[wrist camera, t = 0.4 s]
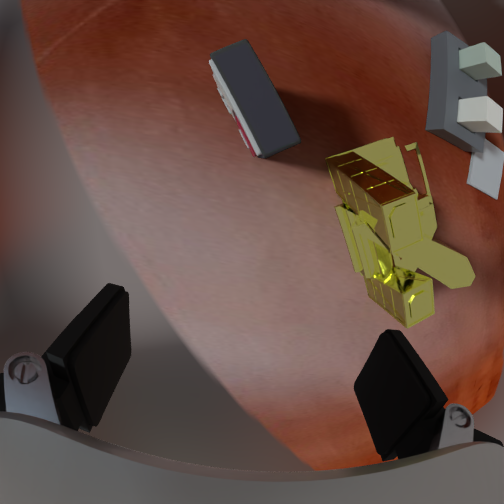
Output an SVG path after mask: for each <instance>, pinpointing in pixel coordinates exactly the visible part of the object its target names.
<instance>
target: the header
mask: <svg viewBox="0 0 504 504" xmlns="http://www.w3.org/2000/svg"><path fill="white" fill-rule="evenodd" d="M468 47H469V46H468V45H467V44H465V43H464V42H463V41H461V40H460V39H458V38H457V37H456V36H454V35H453V34H451V33H450V32H448V31H447V30H446V31H444V32H442V33H440V34H438V35H436V36H434V37H432V38H431V76H430V92H429V104H428V113H427V122H426V129H425V130H426V131H429V132H431V133H433V134H435V135H436V136H438V137H440V138H442V139H444V140H446V141H448V142H450V143H451V144H453V145H455V146H457V147H459V148H460V149H462V150H464V151H469V152H479V153H483V150H484V142H485V132H470V131H468V130H467V129H465V128H464V127H462V126H460V125H459V124H457V113H458V100H460V99H467V98H474V97H482V96H487V78H485V79H479V80H473V79H472V78H471V77H469V76H468V75H466V74H465V73H464V72H462V71H461V70H459V50H462V49H465V48H468Z"/></svg>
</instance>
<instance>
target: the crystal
mask: <svg viewBox="0 0 504 504" xmlns="http://www.w3.org/2000/svg"><path fill="white" fill-rule="evenodd" d="M405 148H406V151H409V150H412V149H415V151H416V154H417V158H418V161H419V165H420V169H421V172H422V176H423V180H424V185H425V189H426V194H423V195H422V194H419V193H418V192H417V190H416V189H415V188H413V187H412V185H411V184H410V183H409V179H408V175H407V172H406V168H405V165H404V161H403V158H402V155H401V152H400V148H399V146H396V143H395V140H394V137H391V138H388V139H387V138H385V139H382V140H379V141H376V142H373V143H370V144H367V145H364V146H361V147H358V148H355V149H353V150H350V151H346V152H343V153H340V154H337V155H334V156H331V157H328V158H325V160H326V163H327V166H328V169H329V172H330V175H331V178H332V181H333V184H334V187H335V190H336V193H337V194H338V195H339V196H340V197H341V199H342V201H343V203H342V204H340V205H337V206H335V207H334V208H335V211H336V214H337V217H338V220H339V223H340V226H341V229H342V232H343V235H344V238H345V241H346V244H347V248H348V251H349V254H350V258H351V261H352V265H353V268H354V271H355V272H360V273H361V276H362V275H363V276H364V279H365V283H366V287H367V292H368V296H369V298H371V299H372V300H373V301H374V302H376V303H377V304H378V305H379V306H380V307H382V308H383V309H384V310H385V311H386V312H388V313H389V314H390V315H391V316H392V317H394V318H395V319H396V320H397V321H398V322H400V323H401V324H402V325H403V326H404V327H405V328H407V329H408V328H410V327H411V326H413V325H415V324H417V323H419V322H421V321H423V320H424V319H426V318H428V317H430V316H431V315H433V314H435V311H434V293H433V281H432V279H431V278H429V277H426V276H424V275H421V274H418V273H416V272H415V271H416V269H417V268H419V269H420V270H422V271H424V272H425V273H427V274H429V275H430V276H432V277H433V278H435V279H437V280H438V281H440V282H441V283H443V284H445V285H446V286H448V287H449V288H451V289H454V288H460V287H466V286H471V284H472V282H473V280H474V278H475V274H474V272H473V269H472V267H471V265H470V263H469V260H468V258H467V257H466V256H464V255H462V254H461V253H459V252H458V251H456V250H454V249H453V248H451V247H449V246H448V245H446V244H444V243H443V242H441V241H439V240H437V239H436V238H434V237H433V235H434V233H435V231H436V228H437V223H436V217H435V211H434V205H433V201H432V196H431V194H430V189H429V185H428V181H427V177H426V173H425V169H424V165H423V161H422V158H421V154H420V151H419V148H418V144H417V142H416V143H413V144H410V145H407V146H405Z"/></svg>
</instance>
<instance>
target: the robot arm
mask: <svg viewBox="0 0 504 504" xmlns="http://www.w3.org/2000/svg"><path fill="white" fill-rule="evenodd" d="M130 356H131V338H130V319H129V294H128V292H126V291H125V289H124V287H123V286H119V285H115V284H111V283H108V284H107V285H106V286H105V287H104V288H103V289H102V290H101V291H100V292H99V293H98V294H97V295H96V296H95V297H94V298H93V299H92V300H91V301H90V303H89V304H88V305H87V306H86V307H85V308H84V309H83V310H82V311H81V312H80V313H79V314H78V315H77V316H76V317H75V318H74V319H73V320H72V321H71V323H70V324H69V325H68V326H67V327H66V328H65V329H64V331H63V332H62V333H61V334H60V335H59V336H58V337H57V339H56V340H55V341H54V342H53V343H52V345H51V346H50V347H49V348H48V349H47V351H46V352H45V353H44V354H43V355H42V357H40V356H39V355H37V354H35V353H31V352H21V353H17V354H15V355H13V356H12V357H11V358H10V359H9V360H8V361H7V362H6V364H5V366H4V373H0V504H504V448H503V447H504V446H503V444H502V442H501V441H500V440H497V439H495V438H493V437H491V436H489V435H487V434H485V433H483V432H481V431H478V430H476V429H474V419H473V416H472V414H471V413H470V411H469V410H468V409H467V408H465V407H464V406H462V405H460V404H450V405H449V406H447V407H446V409H444V407H443V406H444V405H445V403H446V402H447V401H448V398H447V397H446V395H445V393H444V392H443V390H442V389H441V387H440V386H439V384H438V383H437V381H436V380H435V378H434V377H433V375H432V374H431V372H430V371H429V370H428V368H427V367H426V365H425V364H424V362H423V361H422V359H421V358H420V357H419V355H418V354H417V352H416V351H415V350H414V348H413V347H412V345H411V344H410V343H409V341H408V340H407V339H406V337H405V336H404V335H403V333H402V332H401V331H400V330H390V329H387V330H385V331H384V333H382V334H380V336H379V338H378V340H377V342H376V344H375V346H374V348H373V350H372V352H371V354H370V356H369V358H368V359H367V361H366V363H365V365H364V367H363V369H362V370H361V372H360V374H359V376H358V377H357V379H356V381H355V383H354V391H355V394H356V396H357V399H358V401H359V404H360V407H361V409H362V412H363V415H364V417H365V420H366V423H367V426H368V428H369V431H370V434H371V437H372V439H373V442H374V445H375V448H376V451H377V453H378V454H380V455H381V458H382V461H387V460H392V459H395V458H396V457H397V456H398V460H394V461H389V462H384V463H379V464H373V465H367V466H360V467H353V468H345V469H336V470H324V471H308V472H261V471H245V470H234V469H224V468H216V467H208V466H202V465H196V464H189V463H184V462H179V461H174V460H170V459H165V458H161V457H157V456H152V455H149V454H145V453H141V452H138V451H134V450H131V449H127V448H124V447H121V446H118V445H115V444H111V443H108V442H106V441H103V440H100V439H97V438H95V437H92V436H89V435H86V434H84V433H81V432H78V429H79V428H80V429H82V430H84V431H87V432H90V431H91V429H92V426H97V425H98V424H99V422H100V420H101V418H102V415H103V413H104V411H105V409H106V407H107V405H108V402H109V400H110V398H111V396H112V394H113V392H114V389H115V388H116V386H117V384H118V382H119V379H120V377H121V375H122V373H123V371H124V369H125V367H126V365H127V363H128V361H129V359H130Z"/></svg>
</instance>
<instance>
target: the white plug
mask: <svg viewBox="0 0 504 504" xmlns="http://www.w3.org/2000/svg"><path fill="white" fill-rule="evenodd" d="M502 111H503V109H502V108H501V107H500V106H499V105H498V104H496V103H495V102H494V101H493V100H492V99H491V98H489V97H488V96H482V97H474V98H467V99H460V100H458V113H457V124H459V125H460V126H462V127H464V128H465V129H467V130H468V131H470V132H494V133H502V115H503V112H502Z"/></svg>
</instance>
